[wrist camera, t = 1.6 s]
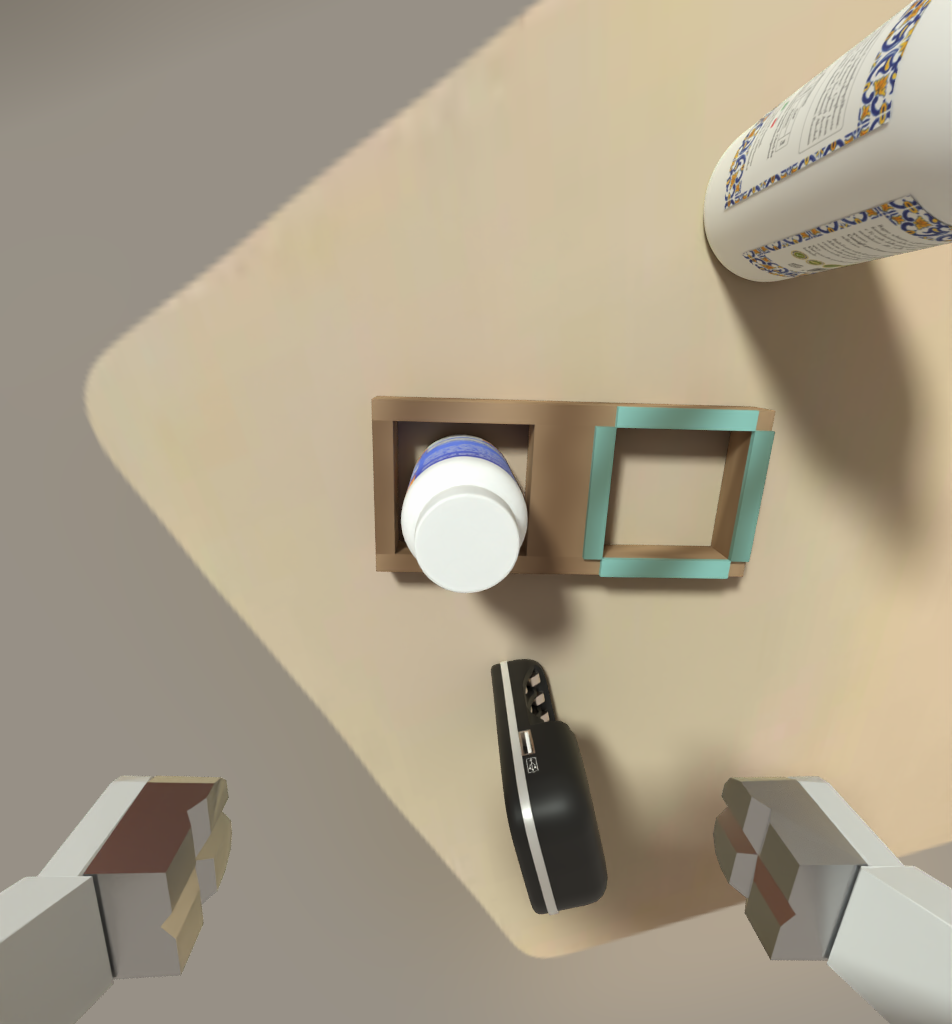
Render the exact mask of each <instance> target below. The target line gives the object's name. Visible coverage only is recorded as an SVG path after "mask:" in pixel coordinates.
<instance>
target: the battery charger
mask: <svg viewBox="0 0 952 1024" xmlns="http://www.w3.org/2000/svg"><path fill="white" fill-rule="evenodd" d="M491 676H492V685H493V694H494V703H495V714H496V724H497V735H498V745H499V754H500V764H501V773H502V782H503V791H504V799H505V806H506V812H507V818H508V823H509V827H510V832H511V836H512V840H513V843H514V847H515V850H516V854H517V857H518V861H519V864H520V868H521V872H522V875H523V878H524V882H525V885H526V889H527V892H528V895H529V899H530V902H531V905H532V908H533V909H534V911H535V912H536V913H538V914H546V913H549V915H553V914H558V913H559V911H560V910H565V909H569V908H574V907H579V906H584V905H588V904H591V903H593V902H596V901H598V900H599V899H600V898H601V897H602V896H603V894H604V892H605V889H606V886H607V870H606V863H605V858H604V853H603V849H602V844H601V840H600V835H599V830H598V826H597V821H596V817H595V812H594V808H593V803H592V799H591V794H590V790H589V786H588V781H587V777H586V773H585V769H584V765H583V761H582V757H581V754H580V750H579V747H578V744H577V741H576V738H575V735H574V734H573V732H572V731H571V730H570V728H569V726H568V725H567V724H565V723H563V722H561V721H555V717H554V712H553V708H552V704H551V699H550V695H549V691H548V687H547V682H546V678H545V675H544V672H543V669H542V667H541V665H540V664H539V663H538V662H536V661H534V660H528V659H522V660H513V661H509V662H507V661H502V662H500V664H496V665H494V666H492V668H491Z"/></svg>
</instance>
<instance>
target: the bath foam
mask: <svg viewBox="0 0 952 1024" xmlns="http://www.w3.org/2000/svg"><path fill="white" fill-rule="evenodd" d="M704 226H705V231H706V235H707V239H708V242H709V244H710V246H711V249H712V250H713V252H714V254H715V255H716V257H717V258H718V260H719V261H720V262H721V263H722V264H723V265H724V266H725V267H726V268H727V269H728V270H730V271H731V272H732V273H734V274H736V275H738V276H740V277H742V278H745V279H748V280H752V281H757V282H773V281H780V280H785V279H790V278H794V277H799V276H805V275H809V274H814V273H818V272H823V271H827V270H832V269H836V268H841V267H845V266H849V265H854V264H858V263H863V262H867V261H872V260H876V259H881V258H885V257H890V256H894V255H899V254H903V253H908V252H912V251H916V250H921V249H925V248H930V247H934V246H939V245H943V244H948V243H952V0H914V1H913V2H911V3H910V4H909V5H907V6H906V7H905V8H903V9H902V10H901V11H900V12H898V13H897V14H896V15H894V16H893V17H892V18H891V19H889V20H888V21H887V22H885V23H884V24H883V25H881V26H880V27H879V28H878V29H876V30H875V31H874V32H872V33H871V34H870V35H869V36H867V37H866V38H865V39H863V40H862V41H861V42H859V43H858V44H857V45H856V46H854V47H853V48H852V49H850V50H849V51H848V52H847V53H845V54H844V55H843V56H841V57H840V58H839V59H837V60H836V61H835V62H834V63H832V64H831V65H830V66H828V67H827V68H826V69H825V70H823V71H822V72H821V73H819V74H818V75H817V76H815V77H814V78H813V79H812V80H810V81H809V82H808V83H806V84H805V85H804V86H803V87H801V88H800V89H799V90H797V91H796V92H795V93H793V94H792V95H791V96H790V97H788V98H787V99H786V100H784V101H783V102H782V103H780V104H779V105H778V106H777V107H775V108H774V109H773V110H771V111H770V112H769V113H768V114H766V115H765V116H764V117H763V118H762V119H761V120H759V121H758V122H757V123H756V124H754V125H753V126H752V127H750V128H749V129H748V130H747V131H745V132H744V133H743V134H742V135H740V136H739V137H738V138H737V139H736V140H735V141H734V142H733V143H732V144H731V145H730V146H729V148H728V149H727V150H726V151H725V153H724V154H723V155H722V157H721V158H720V160H719V162H718V163H717V165H716V167H715V169H714V171H713V173H712V175H711V178H710V181H709V184H708V187H707V191H706V195H705V201H704Z"/></svg>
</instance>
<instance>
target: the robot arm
mask: <svg viewBox="0 0 952 1024" xmlns="http://www.w3.org/2000/svg"><path fill="white" fill-rule="evenodd" d="M722 798H723V800H724V801H725V803H726V805H727V806H728V807H727V808H726V809H725V810H724V811H723V812H722V813H721V814H720V815H719V816H718V817H717V818H716V822H715V828H714V833H713V836H714V844H715V852H716V855H717V858H718V861H719V864H720V867H721V869H722V871H723V873H724V875H725V877H726V879H727V881H728V883H729V884H730V885H731V886H732V887H734V888H735V889H736V890H737V891H739V892H740V893H741V894H742V895H743V896H745V897H746V905H745V914H746V916H747V918H748V920H749V921H750V923H751V925H752V927H753V929H754V931H755V932H756V934H757V936H758V938H759V940H760V941H761V943H762V945H763V947H764V949H765V951H766V952H767V954H768V956H769V958H770V960H828V962H827V965H828V966H829V967H830V968H832V969H833V970H834V971H835V972H836V973H837V974H838V975H839V976H840V977H841V978H842V979H843V980H844V981H845V982H846V983H848V985H850V986H851V987H852V988H853V989H854V990H855V991H856V992H857V993H858V994H859V995H860V996H861V997H862V998H863V999H864V1000H866V1001H867V1002H868V1003H869V1004H870V1005H871V1006H872V1007H873V1008H874V1009H875V1010H876V1011H877V1012H878V1013H879V1014H880V1015H881V1016H882V1017H883V1018H884V1019H886V1020H887V1021H888V1022H889V1023H890V1024H952V889H951V888H950V887H948V886H946V885H945V884H943V883H942V882H940V881H938V880H936V879H935V878H933V877H932V876H930V875H928V874H927V873H925V872H923V871H922V870H920V869H918V868H917V867H915V866H904V865H903V864H902V863H901V862H900V861H899V859H898V858H897V857H896V856H895V855H894V854H893V853H892V852H891V851H890V850H889V848H888V847H887V846H886V845H885V844H884V843H883V842H882V841H881V840H880V839H879V837H878V836H877V835H876V834H875V833H874V832H873V831H872V830H871V829H870V828H869V826H868V825H867V824H866V823H865V822H864V821H863V820H862V819H861V818H860V817H859V815H858V814H857V813H856V812H855V811H854V810H853V809H852V808H851V807H850V806H849V804H848V803H847V802H846V801H845V800H844V799H843V798H842V797H841V796H840V795H839V793H838V792H837V791H836V790H835V789H834V788H833V787H832V786H831V785H830V784H829V783H828V782H827V781H825V780H824V779H822V778H820V777H818V776H812V777H787V778H786V777H735V778H730V779H729V780H728V781H727V782H726V783H725V785H724V789H723V793H722ZM227 800H228V789H227V783H226V780H225V779H223V778H220V777H218V778H217V777H182V776H181V777H180V776H155V777H150V776H121V777H119V778H118V779H116V780H115V781H113V782H112V783H111V784H110V785H109V786H108V787H107V789H106V790H105V791H104V792H103V794H102V795H101V796H100V797H99V799H98V800H97V801H96V803H95V804H94V805H93V806H92V808H91V809H90V810H89V811H88V813H87V814H86V815H85V816H84V818H83V819H82V820H81V822H80V823H79V824H78V825H77V827H76V828H75V829H74V830H73V832H72V833H71V834H70V835H69V837H68V838H67V839H66V840H65V842H64V843H63V844H62V846H61V847H60V848H59V849H58V851H57V852H56V853H55V854H54V856H53V857H52V858H51V859H50V861H49V862H48V863H47V865H46V866H45V867H44V869H43V870H42V871H41V872H40V873H39V875H38V876H37V877H24V878H23V879H21V880H20V881H18V882H17V883H15V884H14V885H12V886H10V887H9V888H7V889H6V890H4V891H3V892H1V893H0V1024H75V1023H76V1022H77V1021H78V1020H79V1019H80V1018H81V1017H82V1016H83V1015H84V1014H85V1013H86V1012H87V1011H88V1009H90V1008H91V1006H93V1004H94V1003H95V1002H96V1001H97V1000H98V999H99V998H100V997H101V996H102V995H103V994H104V993H105V992H106V991H107V990H108V989H109V988H110V987H111V986H112V985H113V983H114V981H113V979H127V978H144V977H161V976H178V975H181V974H182V972H183V970H184V967H185V965H186V963H187V960H188V958H189V956H190V953H191V951H192V949H193V946H194V944H195V942H196V939H197V937H198V935H199V932H200V930H201V928H202V926H203V915H202V904H203V903H204V902H206V900H208V899H209V898H210V897H211V896H212V895H213V894H215V893H216V892H217V890H218V888H219V885H220V883H221V880H222V878H223V875H224V873H225V870H226V865H227V862H228V857H229V854H230V850H231V837H232V829H231V820H230V819H229V818H228V817H227V816H226V815H225V814H224V813H223V812H222V810H223V808H224V806H225V804H226V802H227Z"/></svg>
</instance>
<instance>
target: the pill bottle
mask: <svg viewBox="0 0 952 1024" xmlns="http://www.w3.org/2000/svg"><path fill="white" fill-rule="evenodd" d="M527 522H528V516H527V508H526V503H525V500H524V497H523V495H522V492H521V490H520V488H519V486H518V484H517V482H516V480H515V478H514V476H513V474H512V472H511V470H510V468H509V466H508V463H507V461H506V459H505V458H504V456H503V455H502V454H501V452H500V451H499V450H498V449H497V448H496V447H495V446H493V445H492V444H491V443H489V442H488V441H486V440H484V439H482V438H479V437H476V436H472V435H466V434H456V435H450V436H447V437H444V438H441V439H439V440H437V441H436V442H434V443H432V444H431V445H430V446H429V447H428V448H427V449H426V450H425V451H424V452H423V453H422V454H421V456H420V457H419V459H418V461H417V463H416V465H415V467H414V470H413V473H412V477H411V480H410V483H409V486H408V490H407V493H406V496H405V499H404V503H403V507H402V513H401V526H402V532H403V536H404V539H405V542H406V544H407V546H408V548H409V550H410V551H411V553H412V554H413V556H414V557H415V558H416V559H417V561H418V564H419V566H420V567H421V569H422V571H423V572H424V573H425V575H426V576H427V577H428V578H429V579H430V580H431V581H433V582H434V583H435V584H437V585H438V586H440V587H442V588H444V589H447V590H450V591H453V592H459V593H474V592H480V591H483V590H486V589H489V588H491V587H493V586H495V585H496V584H498V583H499V582H500V581H502V580H503V579H504V578H505V577H506V576H507V575H508V574H509V572H510V571H511V570H512V568H513V567H514V565H515V563H516V560H517V558H518V554H519V550H520V547H521V545H522V543H523V541H524V538H525V534H526V531H527Z"/></svg>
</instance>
